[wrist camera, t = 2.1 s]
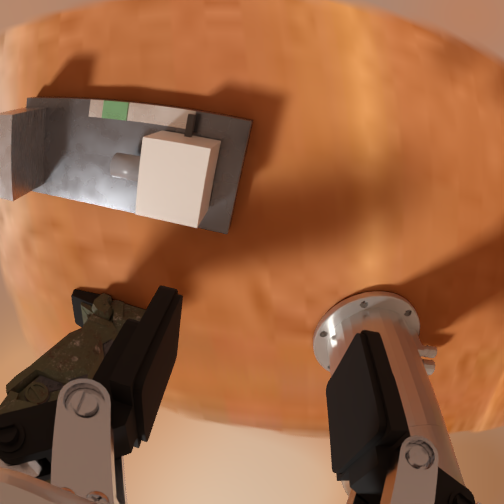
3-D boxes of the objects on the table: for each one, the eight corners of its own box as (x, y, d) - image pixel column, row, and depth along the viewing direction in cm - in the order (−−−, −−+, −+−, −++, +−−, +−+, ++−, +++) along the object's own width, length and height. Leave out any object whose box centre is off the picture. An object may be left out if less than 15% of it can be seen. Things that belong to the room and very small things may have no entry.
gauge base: (253, 120, 25) (244, 127, 19) (229, 227, 30) (217, 262, 24) (36, 96, 24) (-7, 104, 19) (33, 185, 29) (-5, 206, 23)
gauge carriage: (225, 119, 23) (215, 123, 20) (208, 209, 27) (196, 228, 23) (132, 105, 23) (109, 108, 20) (123, 191, 27) (102, 206, 23)
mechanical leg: (55, 320, 37) (-2, 529, 11) (47, 277, 34) (-41, 508, 8) (150, 334, 40) (143, 566, 15) (151, 291, 37) (134, 563, 11)
